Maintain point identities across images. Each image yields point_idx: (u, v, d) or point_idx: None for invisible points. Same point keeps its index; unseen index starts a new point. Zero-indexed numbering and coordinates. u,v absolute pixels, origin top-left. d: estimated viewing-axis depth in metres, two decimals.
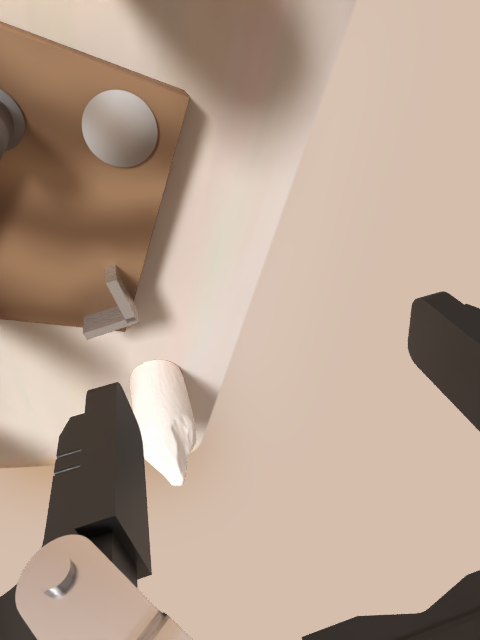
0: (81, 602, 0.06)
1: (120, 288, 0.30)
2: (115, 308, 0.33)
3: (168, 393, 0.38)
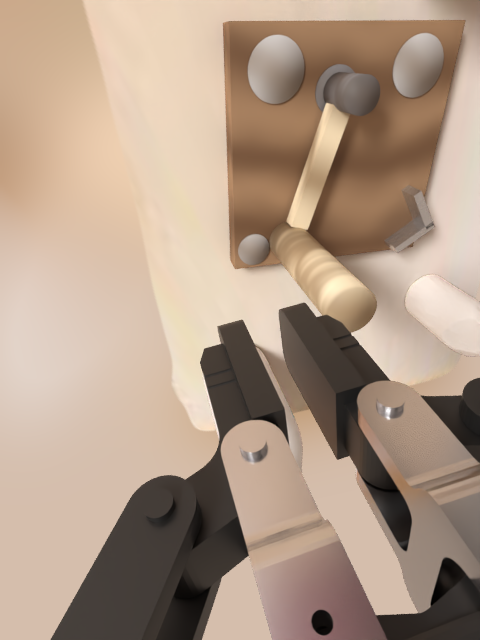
0: (264, 474, 0.07)
1: (423, 198, 0.37)
2: (408, 225, 0.41)
3: (455, 292, 0.44)
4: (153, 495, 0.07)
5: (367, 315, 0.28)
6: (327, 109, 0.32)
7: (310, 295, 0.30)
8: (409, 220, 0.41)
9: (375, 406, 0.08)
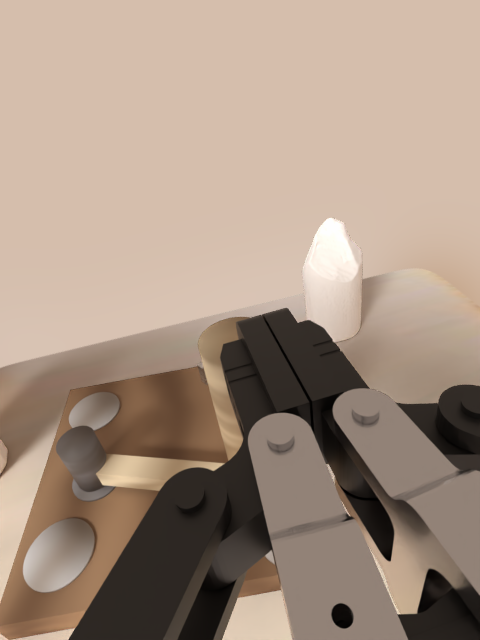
0: (290, 467, 0.07)
1: None
2: None
3: (305, 296, 0.41)
4: (185, 485, 0.07)
5: None
6: (104, 480, 0.28)
7: None
8: None
9: (350, 414, 0.08)
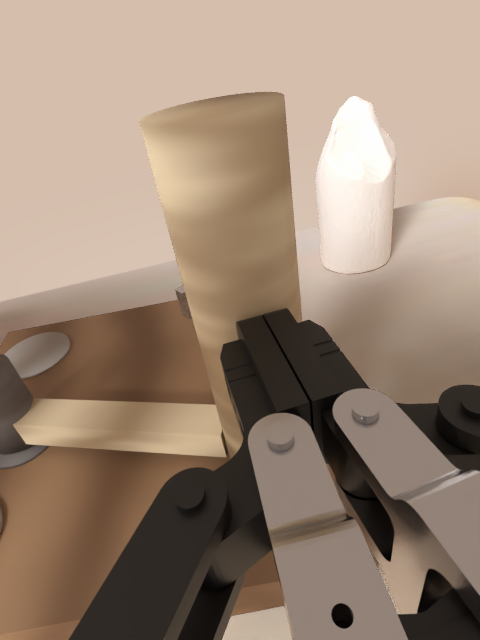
0: (290, 467, 0.07)
1: None
2: None
3: (319, 212, 0.32)
4: (185, 485, 0.07)
5: (228, 97, 0.11)
6: (27, 436, 0.19)
7: (248, 254, 0.10)
8: None
9: (350, 414, 0.08)
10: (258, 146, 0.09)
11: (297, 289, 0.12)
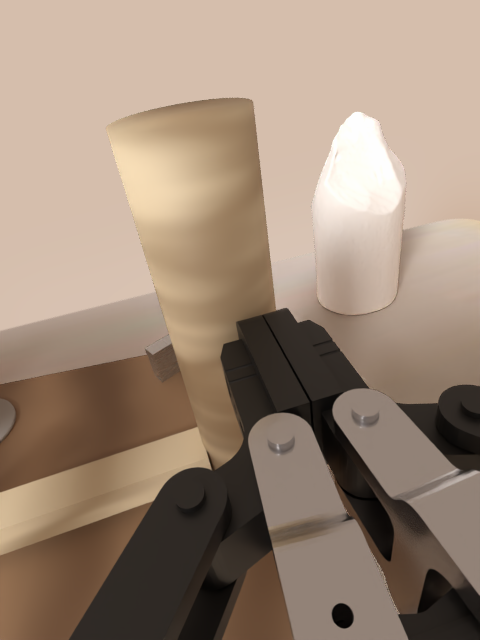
0: (291, 466, 0.07)
1: (159, 341, 0.22)
2: None
3: (316, 245, 0.27)
4: (184, 486, 0.07)
5: (177, 106, 0.11)
6: None
7: (246, 251, 0.10)
8: None
9: (350, 415, 0.08)
10: (248, 144, 0.09)
11: None
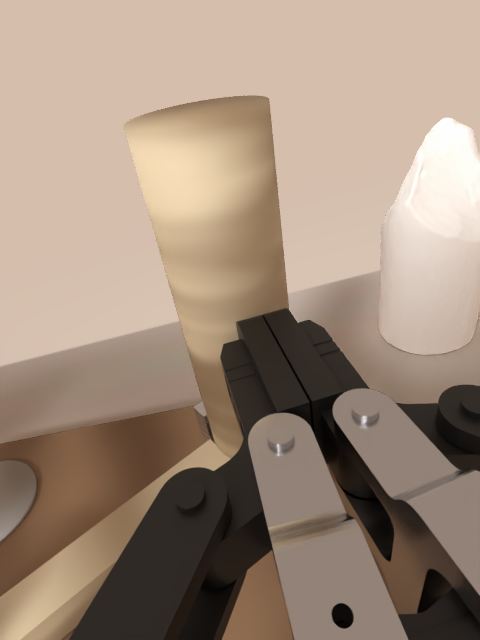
0: (291, 466, 0.07)
1: None
2: None
3: (384, 273, 0.23)
4: (185, 486, 0.07)
5: (173, 109, 0.11)
6: None
7: (276, 236, 0.11)
8: None
9: (350, 414, 0.08)
10: None
11: None
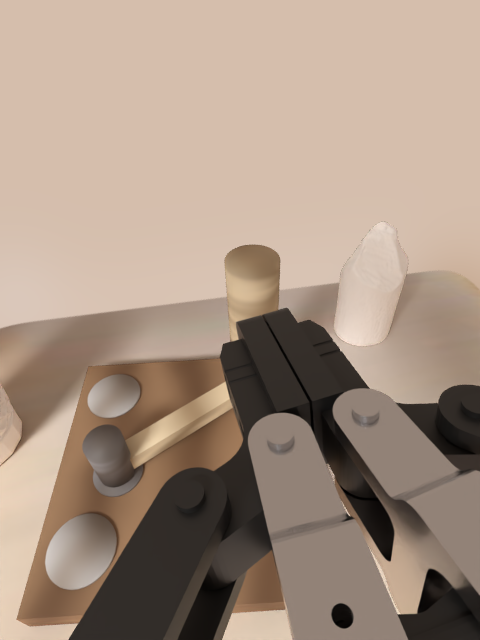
0: (290, 467, 0.07)
1: None
2: None
3: (339, 296, 0.39)
4: (184, 486, 0.07)
5: (242, 250, 0.26)
6: (137, 461, 0.29)
7: (276, 305, 0.27)
8: None
9: (350, 415, 0.08)
10: (279, 271, 0.26)
11: None
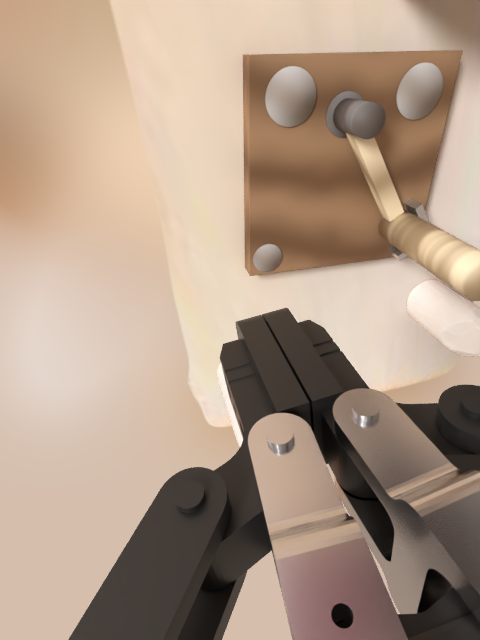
0: (290, 467, 0.07)
1: (424, 210, 0.40)
2: None
3: (454, 296, 0.47)
4: (184, 485, 0.07)
5: None
6: (349, 137, 0.35)
7: (444, 281, 0.35)
8: None
9: (350, 414, 0.08)
10: None
11: None
